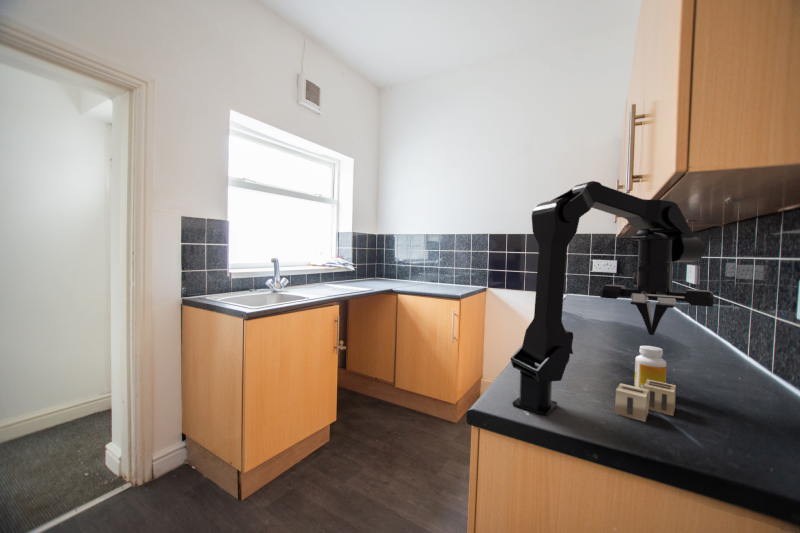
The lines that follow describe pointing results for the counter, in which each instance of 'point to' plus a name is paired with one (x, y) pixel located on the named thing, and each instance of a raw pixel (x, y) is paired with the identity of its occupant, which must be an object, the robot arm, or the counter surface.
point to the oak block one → (632, 402)
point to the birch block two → (661, 396)
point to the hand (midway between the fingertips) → (651, 334)
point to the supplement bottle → (649, 366)
